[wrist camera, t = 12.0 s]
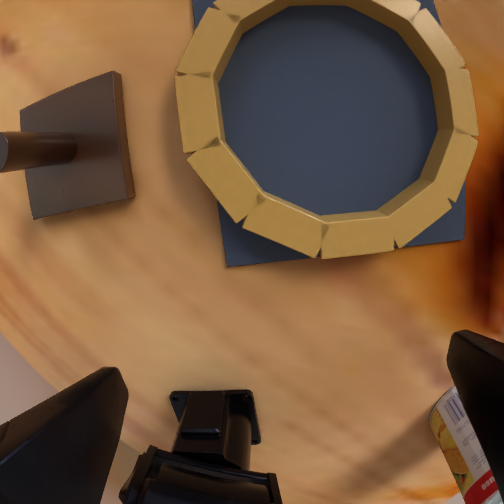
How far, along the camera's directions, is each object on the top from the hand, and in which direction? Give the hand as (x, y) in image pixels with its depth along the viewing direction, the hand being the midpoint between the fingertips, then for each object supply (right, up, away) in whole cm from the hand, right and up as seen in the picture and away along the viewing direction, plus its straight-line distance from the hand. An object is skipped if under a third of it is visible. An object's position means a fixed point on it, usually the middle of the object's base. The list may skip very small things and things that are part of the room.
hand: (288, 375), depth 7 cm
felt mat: (+4, +12, +9) cm, 15 cm away
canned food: (+20, -12, +15) cm, 28 cm away
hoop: (+4, +11, +9) cm, 15 cm away
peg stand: (-12, +10, +10) cm, 19 cm away
